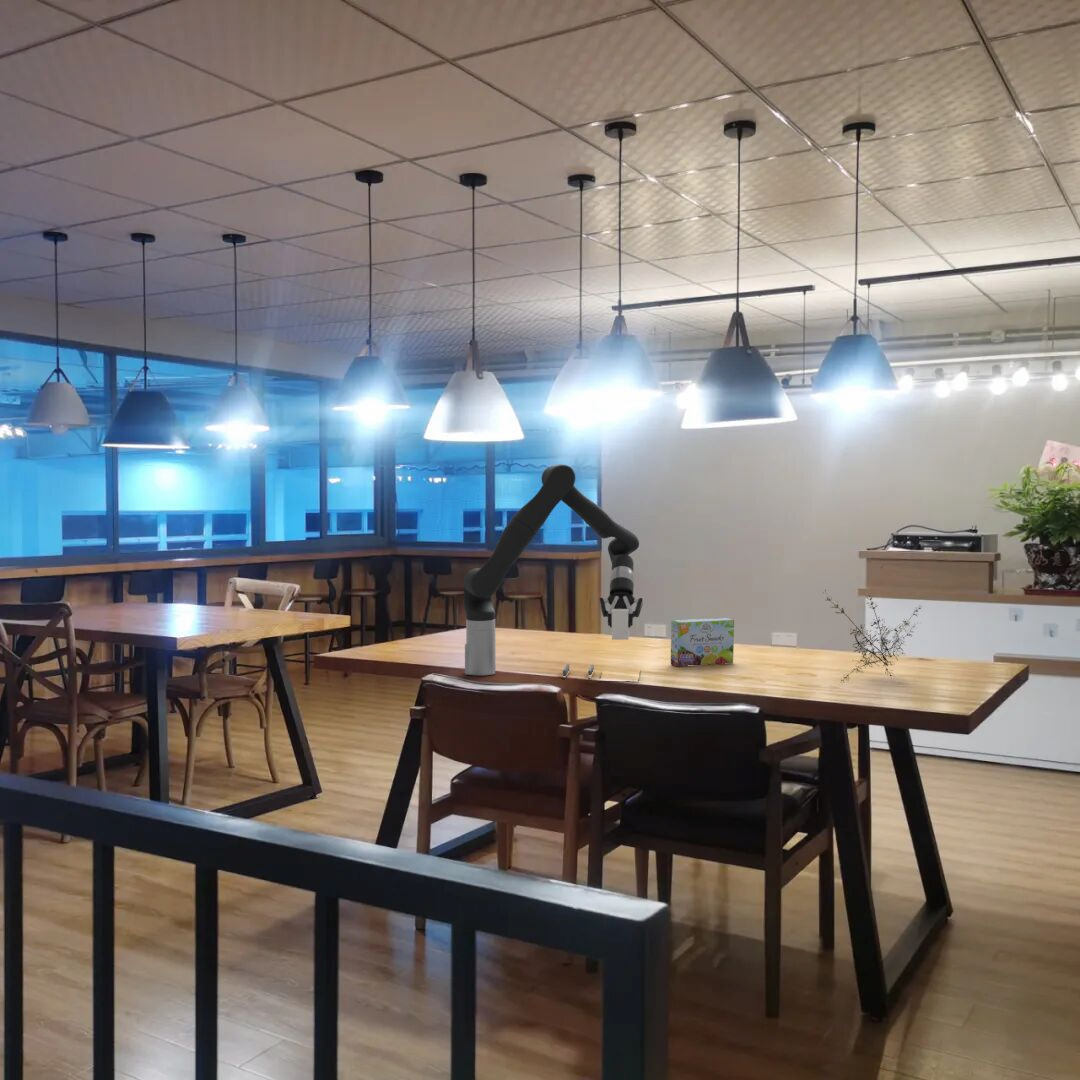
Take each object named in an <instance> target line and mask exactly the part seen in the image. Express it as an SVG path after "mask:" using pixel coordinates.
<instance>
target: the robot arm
mask: <svg viewBox="0 0 1080 1080" xmlns="http://www.w3.org/2000/svg"><path fill="white" fill-rule="evenodd" d="M541 483H542V486H541V487H540V489H539V490H538V492H537V493H536V494H535V496H533V497H532V498H531V499H530V500H529V501H528V502H527V503H526V504H525V505H523V506H522V507H521V508H520V509H519V510H518V511H517V512H516V513H515V514H514V515H513V517H512V518H510V521H509V522H508V523H507V525H506V526H505V527H504V529H503V531H502V533H501V534H500V537H499V539H498V542H497V543H496V547H495V548H494V551H493V553H492V554H491V556H490V557H489V558H488V559H487V560H486V562H485V563H484V564H483V565H482V566H481V568H480V567H475V568H471V569H470V570H468V572H467V573H466V574H465V576H464V579H463V607H464V611H465V624H466V628H465V634H466V635H465V637H466V643H464V674H465V675H469V676H490V675H491V676H492V675H495V674H496V673H495V671H496V669H497V666H496V665H497V664H496V661H497V659H496V656H497V655H496V610H495V608H494V605H493V602H492V601H493V598H492V597H493V595H494V594H495V593H496V592H498V591H497V590H498V589H499V587H500V586H501V584H502V582H503V580H504V579H505V577H506V576H507V574H508V572H509V570H510V569H511V568H512V566H513V565H514V564H515V562H516V561H517V560H518V559H519V557H521V555H522V554H523V552H524V551H525V549H526V548H527V547H528V546H529V545H530V544H531V542H532V541H533V539H534V538H535V536H536V535H537V534H538V532H539V531H540V530H541V528H542V526H543V525H544V523H545V522H546V521H547V519H548V518H549V516H550V515H551V513H552V512H553V510H554V509H555V507H557V506H558V504H559V503H560V502H563V503H564V504H565V505H567V507H569V508H570V509H571V510H572V511H574V513H575V514H576V515H578V516H579V517H580V518H581V519H582V520H583V522H585V523H586V524H587V525H588V526H589V528H591V530H593V532H595V534H596V535H598V537H599V538H601V539H608V538H613V539H612V540H611V541H610V542H609V543H608V545H607V552H608V555H609V559H610V562H611V573H610V577H609V580H610V582H609V594H608V595H609V596H608V597H607V598H603V597H599V605H600V610H601V614H602V617H604V618H606V617H607V626H608V627H609V628H612V609H629V610H628V612H629V615H628V628H629V629H631V627H633V625H634V624H633V622H634V621H633V620H634V618H639V616H640V614H641V610H642V607H643V605H644V602H643V598H642V597H639V598H635V596H634V588H635V587H634V585H635V577H634V560H633V558H632V557H631V556H630V554H632V553H634V552H635V551H637V550H638V548H639V546H640V541H639V538H638V536H637V535H636V534H635V533H634V532H633V531H632V530H630V529H628V528H626V527H625V526H623V525H622V524H620V523H618V522H617V521H615V520H614V519H613V518H612V517H611V516H610V515H609V514H608V513H607V512H606V511H605V510H604V509H603V507H601V506H599V505H598V504H597V503H595V502H594V501H593V500H591V499H590V498H588V497H587V496H585V495H584V494H583V493H582V492H581V491H580V490H579V489H578V488H577V487H576V486H575V483H576V473H575V470H574V469H573V467H571V466H569V465H567V464H555V465H550V466H548V467H546V468H545V470H543V472H542V475H541ZM608 604H609V605H610V607H609V609H608V610H607V608H606V606H607V605H608ZM633 604H635V609H634V610H632V606H633Z"/></svg>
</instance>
